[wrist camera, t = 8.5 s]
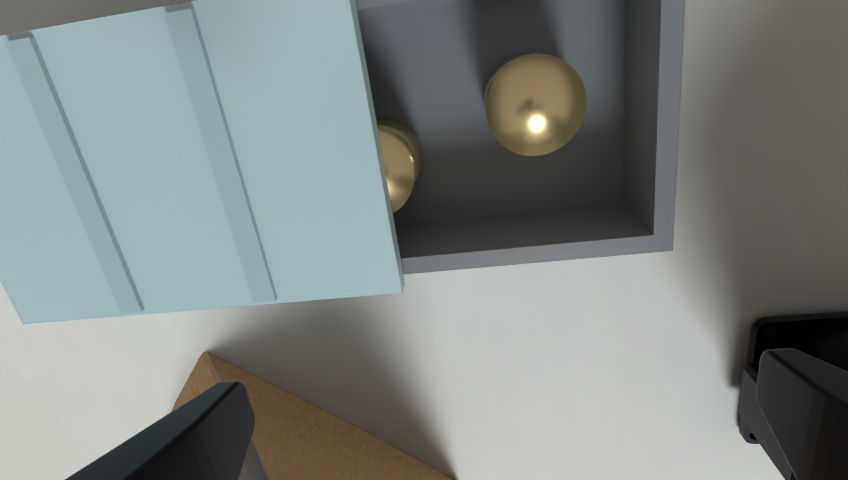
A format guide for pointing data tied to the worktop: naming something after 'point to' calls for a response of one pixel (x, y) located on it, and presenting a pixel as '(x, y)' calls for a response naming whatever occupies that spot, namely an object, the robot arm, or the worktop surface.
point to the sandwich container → (304, 435)
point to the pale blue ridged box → (192, 162)
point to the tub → (518, 174)
